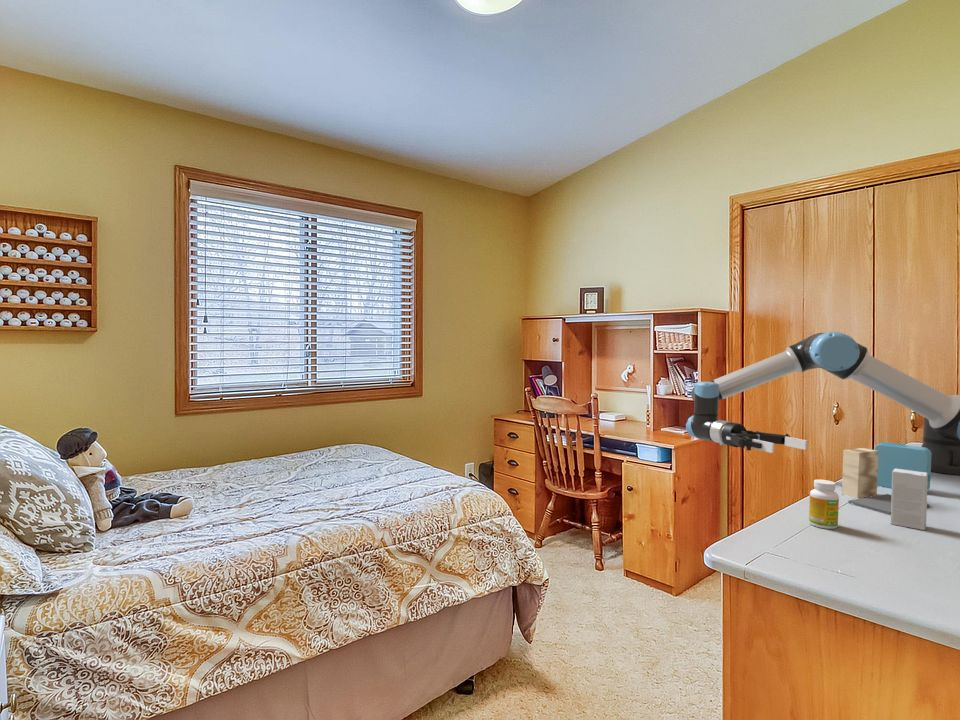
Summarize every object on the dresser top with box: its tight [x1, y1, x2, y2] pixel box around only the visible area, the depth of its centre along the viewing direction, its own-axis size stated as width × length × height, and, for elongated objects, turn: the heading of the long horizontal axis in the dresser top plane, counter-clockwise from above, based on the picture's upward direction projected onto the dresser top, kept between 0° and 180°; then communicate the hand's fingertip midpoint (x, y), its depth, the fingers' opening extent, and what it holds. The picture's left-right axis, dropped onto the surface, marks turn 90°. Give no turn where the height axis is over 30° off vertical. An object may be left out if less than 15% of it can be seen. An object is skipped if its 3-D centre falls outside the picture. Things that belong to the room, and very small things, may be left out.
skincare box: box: [890, 469, 928, 531], centre depth 119 cm, size 6×4×12 cm
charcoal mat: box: [847, 493, 930, 516], centre depth 134 cm, size 16×10×1 cm, turn 113°
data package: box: [873, 442, 932, 491], centre depth 149 cm, size 12×4×12 cm, turn 42°
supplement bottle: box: [808, 479, 840, 530], centre depth 119 cm, size 5×5×10 cm
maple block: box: [841, 447, 879, 499], centre depth 142 cm, size 8×4×12 cm, turn 113°
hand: (790, 446), depth 153 cm, fingers open, 13 cm apart
